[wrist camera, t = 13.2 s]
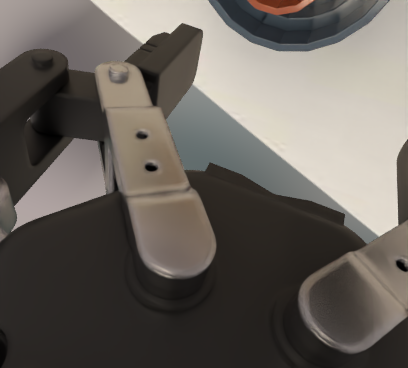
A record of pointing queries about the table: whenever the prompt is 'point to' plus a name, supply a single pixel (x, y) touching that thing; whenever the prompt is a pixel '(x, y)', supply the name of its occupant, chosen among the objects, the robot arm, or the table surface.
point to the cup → (280, 5)
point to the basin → (298, 22)
